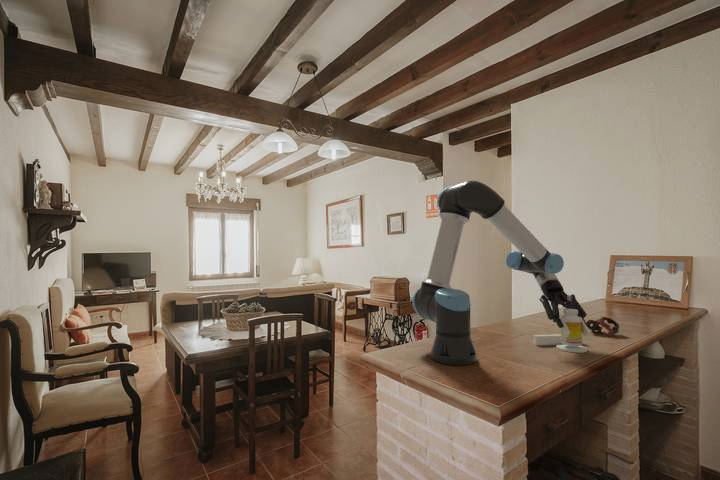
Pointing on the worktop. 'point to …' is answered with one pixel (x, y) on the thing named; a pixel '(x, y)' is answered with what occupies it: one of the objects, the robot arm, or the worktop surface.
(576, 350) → the coaster
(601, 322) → the brown openwork ring sculpture
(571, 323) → the supplement bottle
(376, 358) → the worktop surface
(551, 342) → the rail
